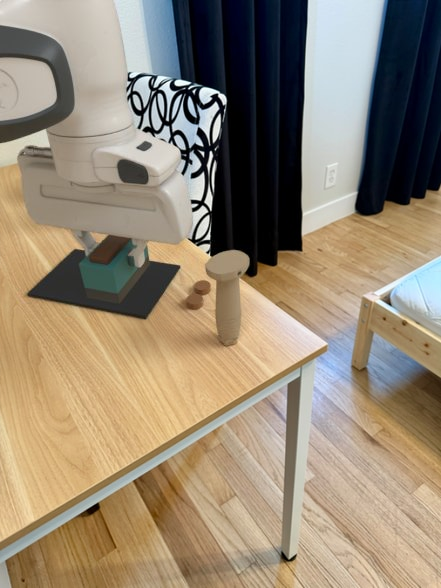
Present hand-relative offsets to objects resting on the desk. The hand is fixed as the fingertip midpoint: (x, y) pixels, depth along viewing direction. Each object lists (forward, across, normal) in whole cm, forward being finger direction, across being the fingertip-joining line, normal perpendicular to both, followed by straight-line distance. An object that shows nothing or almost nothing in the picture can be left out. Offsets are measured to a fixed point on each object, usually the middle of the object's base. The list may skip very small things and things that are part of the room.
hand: (116, 260), depth 54 cm
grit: (+18, +4, +20) cm, 27 cm away
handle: (+18, +12, +8) cm, 24 cm away
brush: (+3, 0, 0) cm, 3 cm away
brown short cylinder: (+18, +4, +16) cm, 24 cm away
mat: (+18, -14, +18) cm, 29 cm away
